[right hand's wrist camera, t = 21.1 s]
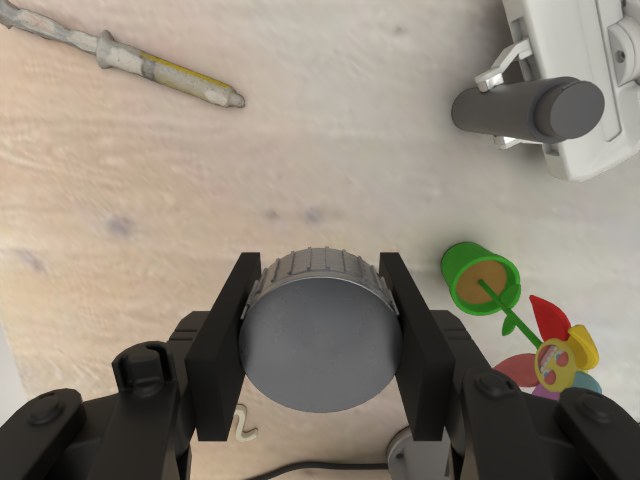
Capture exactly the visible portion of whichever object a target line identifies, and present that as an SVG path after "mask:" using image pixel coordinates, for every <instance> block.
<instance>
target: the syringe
mask: <svg viewBox="0 0 640 480" xmlns="http://www.w3.org/2000/svg"><path fill="white" fill-rule="evenodd" d="M0 23H1V24H3V25H5V26H6V27H7V28H8V29H10V28H11V27H12V26H15V27H18V28H20V29H22V30H25V31H28V32H31V33H35V34H38V35H40V36H41V37H43V38H46V39H52V40H57V41H60V42H63V43H66V44H69V45H71V46H73V47H76V48H78V49H80V50H82V51H85V52H88V53H91V54H94V55H97V62H98V65H99V66H100V67H101V68H102V69H108V68H111V67H112V66H114V67H116V68H120V69H122V70H125V71H128V72H131V73H134V74H138V75H140V76H142V77H145V78H147V79H149V80H152V81H155V82H157V83H160V84H163V85H166V86H169V87H171V88H175V89H177V90H180V91H182V92H185V93H187V94H190V95H193V96H196V97H199V98H201V99H203V100H206V101H208V102H211V103H213V104H216V105H219V106H224V107H231V106H236V107H239V108H242V107H244V106H245V102H244V98H243V97H242V96H241V95H239V94H237V93H236V91H235V90H234V89H233V88H232V86H229V85H227V84H224V83H222V82H219V81H217V80H214V79H212V78H209V77H206V76H204V75H201V74H199V73H196V72H194V71H191V70H188V69H186V68H183V67H181V66H178V65H175V64H173V63H170V62H168V61H165V60H162V59H160V58H158V57H155V56H152V55H150V54H147V53H146V52H144V51H141V50H138V49H136V48H134V47H132V46H128V45H125V44H121V43H118V42H115V41H114V40H113V36H112V35H111V33H110V32H109V31H108V30H103V32H102V33H101V36H100V38H98V37H95V36H91V35H89V34H86V33H84V32H82V31H78V30H72V31H71V30H68V29H65V28H63V27H62V26H61V25H59V24H58V23H57V22H56V21H54V20H52V19H50V18H47V17H45V16H42V15H40V14H37V13H34V12H31V11H29V10H27V9H20V10H19V9H18V8H17V7H16V6H15V5H14V4H12V3H10V2H9V1H8V0H0Z"/></svg>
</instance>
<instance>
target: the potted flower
mask: <svg viewBox="0 0 640 480" xmlns="http://www.w3.org/2000/svg"><path fill="white" fill-rule="evenodd" d="M441 271H442V274H443V276H444V278H445V280H446V282H447V284H448V287H449V291H450V294H451V297H452V299H453V301H454V303H455V304H456V306H457V307H458V308H459V309H460V310H462V311H464V312H465V313H468V314H471V315H476V316H484V315H490V314H493V313H496V312H498V311H500V310H503V311H504V312H505V313H506V314H507V317H506V318H505V320H504V323H503V328H502V335H503V336H505V335H508V334H510V333H511V332H512V331H513V330H514V328H515V326H517V327H518V328H519V329H520V330H521V331H522V332H523V333H524V334H525V335H526V337H527V338H528V339H529V340H530V341H531V342H532V343H533V344H534V345H535V347H536V348H537V352H536V355H535V354H530V353H528V354H520V355H516V356H513V357H510V358H508V359H506V360H504V361H502V362H501V363H499V364H498V365H497V366H495V367H494V368H492V369H495V370H498V371H500V372H502V373H504V374H506V375H507V376H509V377H510V378H511V379H512V380H513V381H515V382H516V383H517V385H518V386H519V387H535V386H537V387H536V388H535V389H534V391H533V392H532V395H536V396H540V397H545V398H549V399H553V400H557V401H558V398H559V395H560V392H562V391H563V390H564V389H565V388H570V387H579V388H586V389H589V390H592V391H595V392H598V393H600V394H602V389H601V387H600V385H599V384H598V382H597V381H596V380H595V379H594V378H593V377H591V376H590V375H588V374H587V373H588V370H589V369H593V368H594V367H595V366H596V365H598V361H599V355H598V351H597V349H596V346H595V344H594V342H593V340H592V338H591V336H590V334H589V333H588V331H587V329H586V328H585V327H584V325H575V326H574V327H572V328H571V324H570V322H569V320H568V318H567V316H566V315H565V314H564V313H563V312H562V311H561V309H560V308H558V307H557V306H555V305H554V304H552V303H550V302H548V301H546V300H544V299H541V298H539V297H536V296H534V295H530V297H529V299H530V301H531V303H532V306H533V310H534V314H535V318H536V321H537V324H538V328H539V331H540V334H541V337H542V339H543V340H544V342H543V343H542V342H541V341H540V340H539V339H538V338H537V337H536V335H535V334H534V333H533V332H532V331H531V330H530V329H529V328H528V327H527V326H526V325H525V324H524V323H523V322H522V321H521V320H520V319H519V318H518V316H517V315H516V314H515V313H514V312H513V311H512V310H511V309H512V308H513V307H514V306H515V305H516V303H517V302H518V300H519V297H520V294H521V285H520V276H519V272H518V270H517V268H516V267H515V266H514V264H513V263H512V262H510V261H509V260H507V259H505V258H504V257H502V256H500V255H497V254H493V253H492V252H490V251H488V250H487V249H485V248H483V247H481V246H480V245H478V244H475V243H470V242H465V243H460V244H458V245H455V246H454V247H452V248H451V249H449V250H448V251H447V252H446V254H445V255H444V257H443V259H442V262H441Z"/></svg>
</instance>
